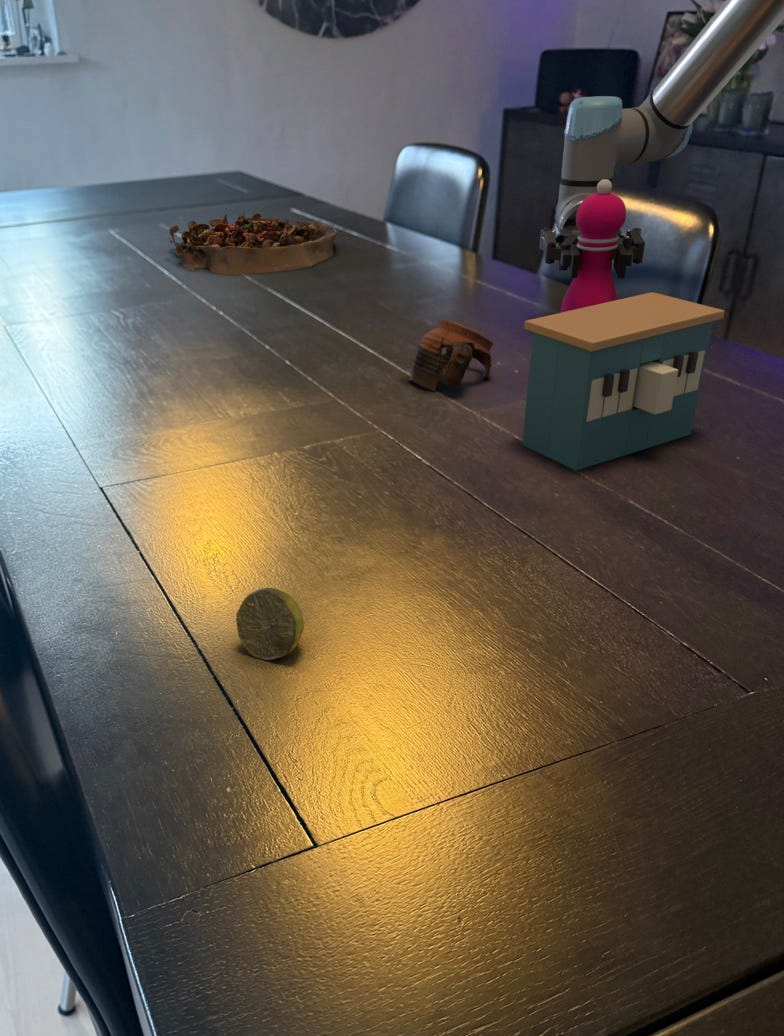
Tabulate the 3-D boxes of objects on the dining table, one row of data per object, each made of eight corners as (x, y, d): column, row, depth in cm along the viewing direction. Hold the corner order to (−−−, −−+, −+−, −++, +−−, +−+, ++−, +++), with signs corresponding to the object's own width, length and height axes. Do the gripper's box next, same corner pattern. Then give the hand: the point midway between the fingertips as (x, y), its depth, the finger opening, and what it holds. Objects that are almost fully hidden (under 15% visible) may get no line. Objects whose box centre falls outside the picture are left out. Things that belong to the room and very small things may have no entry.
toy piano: (699, 435, 97) (725, 310, 90) (575, 474, 90) (592, 342, 83) (633, 410, 104) (652, 291, 97) (513, 445, 97) (524, 320, 90)
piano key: (671, 410, 90) (678, 369, 88) (655, 414, 89) (662, 373, 87) (638, 398, 93) (645, 358, 91) (622, 402, 92) (628, 362, 90)
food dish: (169, 246, 195) (165, 205, 191) (325, 238, 197) (325, 198, 193) (167, 278, 165) (162, 231, 161) (350, 268, 168) (350, 222, 164)
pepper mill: (624, 343, 124) (649, 178, 112) (587, 355, 121) (608, 186, 109) (582, 332, 129) (602, 172, 118) (545, 343, 126) (562, 180, 114)
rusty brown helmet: (397, 376, 118) (425, 313, 116) (462, 406, 120) (491, 345, 118) (416, 382, 107) (447, 313, 104) (487, 415, 109) (519, 347, 106)
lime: (307, 664, 66) (304, 605, 63) (239, 670, 66) (233, 610, 63) (302, 630, 70) (299, 572, 67) (238, 635, 70) (232, 578, 67)
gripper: (647, 256, 134) (670, 298, 115) (520, 257, 137) (521, 297, 118) (656, 199, 129) (681, 233, 111) (524, 201, 132) (527, 234, 114)
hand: (599, 266), depth 114 cm, fingers closed on pepper mill, 5 cm apart
